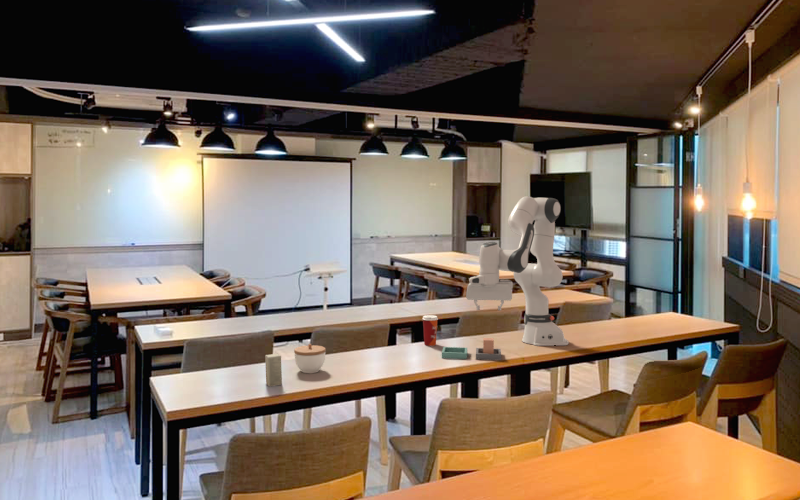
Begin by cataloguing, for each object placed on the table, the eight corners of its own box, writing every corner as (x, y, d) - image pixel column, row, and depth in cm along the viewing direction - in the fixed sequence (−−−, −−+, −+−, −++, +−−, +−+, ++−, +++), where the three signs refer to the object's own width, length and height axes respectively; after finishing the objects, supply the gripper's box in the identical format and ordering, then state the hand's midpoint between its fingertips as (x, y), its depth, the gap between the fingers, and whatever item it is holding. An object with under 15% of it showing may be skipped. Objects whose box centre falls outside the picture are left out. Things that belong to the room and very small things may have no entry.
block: (493, 355, 261) (493, 338, 260) (493, 358, 256) (493, 340, 255) (483, 355, 261) (483, 337, 261) (483, 358, 256) (483, 340, 256)
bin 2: (500, 354, 263) (500, 348, 263) (501, 360, 252) (501, 354, 252) (476, 353, 265) (476, 347, 265) (475, 359, 254) (475, 353, 254)
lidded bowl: (288, 371, 235) (287, 344, 234) (312, 365, 244) (312, 339, 244) (307, 377, 226) (307, 349, 226) (332, 370, 236) (332, 343, 235)
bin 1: (467, 353, 265) (467, 347, 265) (466, 358, 254) (466, 353, 254) (443, 352, 267) (443, 346, 267) (441, 358, 256) (441, 352, 256)
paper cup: (436, 346, 278) (436, 318, 277) (421, 346, 279) (421, 317, 278) (439, 343, 285) (439, 315, 284) (423, 342, 287) (423, 314, 286)
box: (278, 381, 220) (278, 353, 219) (282, 384, 216) (281, 355, 215) (265, 383, 217) (264, 354, 217) (268, 386, 214) (268, 357, 213)
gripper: (512, 278, 258) (512, 309, 259) (466, 277, 261) (466, 308, 262) (513, 280, 252) (512, 311, 253) (466, 279, 255) (465, 310, 256)
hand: (488, 309), depth 257 cm, fingers open, 8 cm apart
